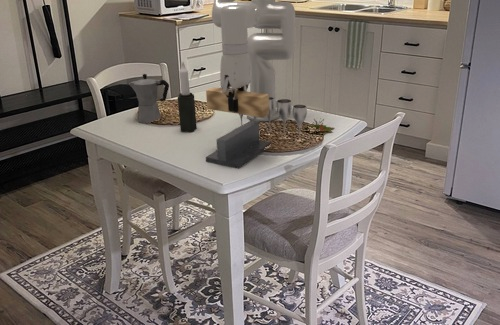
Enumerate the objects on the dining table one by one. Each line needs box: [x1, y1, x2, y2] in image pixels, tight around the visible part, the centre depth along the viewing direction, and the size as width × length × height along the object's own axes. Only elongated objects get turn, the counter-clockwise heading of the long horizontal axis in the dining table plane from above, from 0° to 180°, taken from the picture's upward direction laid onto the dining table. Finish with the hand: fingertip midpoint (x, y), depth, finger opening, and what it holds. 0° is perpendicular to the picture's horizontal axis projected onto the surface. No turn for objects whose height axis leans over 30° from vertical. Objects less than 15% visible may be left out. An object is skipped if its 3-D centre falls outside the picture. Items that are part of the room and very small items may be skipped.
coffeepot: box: [128, 73, 170, 124], centre depth 191 cm, size 15×9×18 cm, turn 87°
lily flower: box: [305, 117, 334, 136], centre depth 177 cm, size 12×12×5 cm
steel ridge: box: [205, 120, 272, 170], centre depth 159 cm, size 20×12×8 cm, turn 149°
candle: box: [177, 61, 198, 133], centre depth 178 cm, size 5×5×25 cm
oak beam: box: [205, 87, 269, 117], centre depth 153 cm, size 20×4×6 cm, turn 59°
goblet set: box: [238, 97, 308, 138], centre depth 173 cm, size 28×6×13 cm, turn 59°
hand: (237, 108), depth 154 cm, fingers closed on oak beam, 4 cm apart
